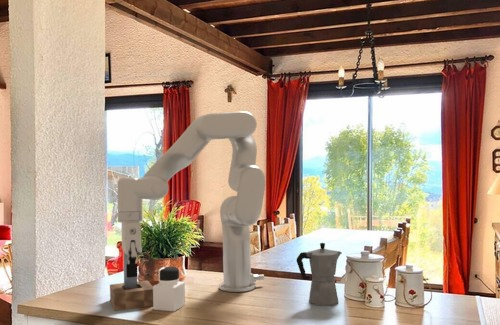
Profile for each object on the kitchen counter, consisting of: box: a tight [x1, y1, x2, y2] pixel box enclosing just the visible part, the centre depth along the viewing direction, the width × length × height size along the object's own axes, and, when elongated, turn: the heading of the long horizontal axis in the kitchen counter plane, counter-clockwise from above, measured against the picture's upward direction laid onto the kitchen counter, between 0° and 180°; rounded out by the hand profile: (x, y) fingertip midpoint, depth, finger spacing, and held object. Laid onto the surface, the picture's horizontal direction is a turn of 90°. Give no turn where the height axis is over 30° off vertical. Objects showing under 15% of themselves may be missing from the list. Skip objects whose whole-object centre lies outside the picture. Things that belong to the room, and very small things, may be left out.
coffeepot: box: [296, 242, 342, 307], centre depth 146 cm, size 15×9×18 cm, turn 110°
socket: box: [109, 280, 154, 311], centre depth 149 cm, size 12×12×5 cm
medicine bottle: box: [152, 265, 186, 312], centre depth 144 cm, size 7×7×12 cm
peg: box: [123, 249, 138, 290], centre depth 149 cm, size 4×4×12 cm
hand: (130, 274), depth 149 cm, fingers closed on peg, 4 cm apart
